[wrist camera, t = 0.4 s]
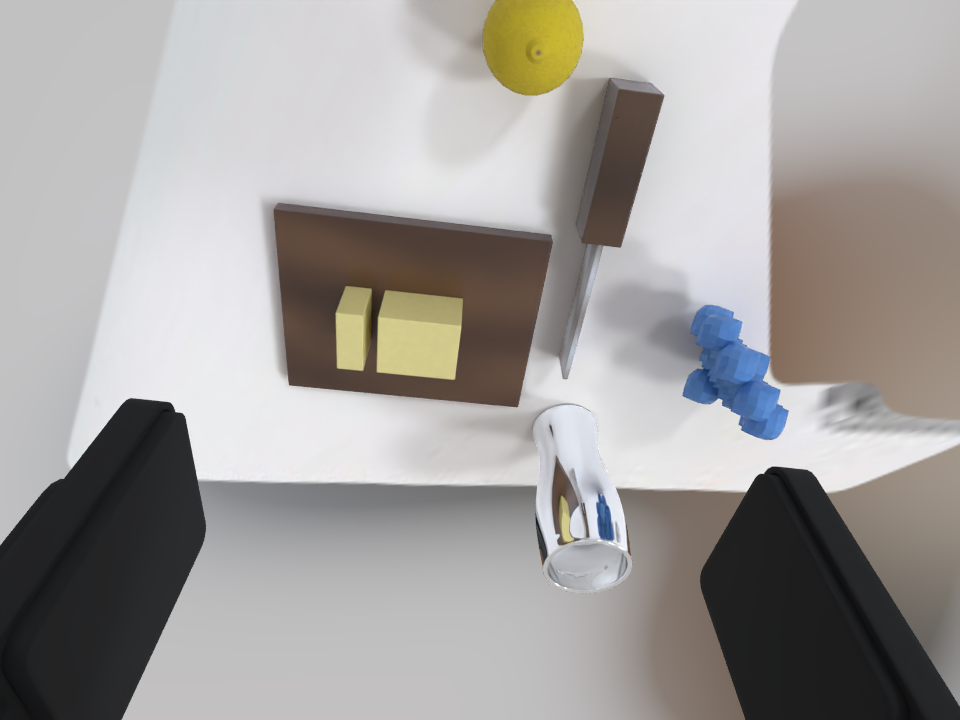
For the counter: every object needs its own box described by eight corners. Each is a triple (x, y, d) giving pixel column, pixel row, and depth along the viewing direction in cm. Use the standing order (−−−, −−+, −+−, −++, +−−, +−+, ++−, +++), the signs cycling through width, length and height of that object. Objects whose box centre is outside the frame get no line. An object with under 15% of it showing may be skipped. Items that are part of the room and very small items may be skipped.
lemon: (485, 81, 38) (486, 114, 31) (480, -21, 34) (479, -9, 28) (572, 76, 38) (591, 107, 31) (575, -28, 34) (597, -17, 28)
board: (277, 202, 42) (273, 209, 42) (551, 234, 44) (553, 241, 43) (292, 377, 52) (288, 385, 51) (517, 398, 53) (517, 407, 52)
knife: (609, 77, 38) (619, 88, 35) (652, 83, 38) (665, 94, 35) (545, 356, 50) (548, 379, 48) (577, 359, 51) (582, 382, 48)
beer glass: (553, 389, 53) (574, 527, 40) (617, 417, 54) (655, 556, 42) (514, 439, 56) (522, 579, 44) (575, 463, 58) (599, 604, 46)
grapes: (634, 300, 47) (673, 397, 38) (716, 258, 45) (779, 349, 35) (688, 395, 53) (734, 499, 43) (763, 361, 51) (829, 464, 41)
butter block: (385, 289, 45) (377, 317, 42) (462, 298, 46) (461, 326, 42) (383, 342, 48) (376, 372, 45) (456, 350, 49) (454, 380, 45)
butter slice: (345, 285, 45) (335, 313, 42) (372, 288, 45) (363, 315, 42) (346, 339, 48) (336, 368, 45) (371, 341, 48) (363, 371, 45)
